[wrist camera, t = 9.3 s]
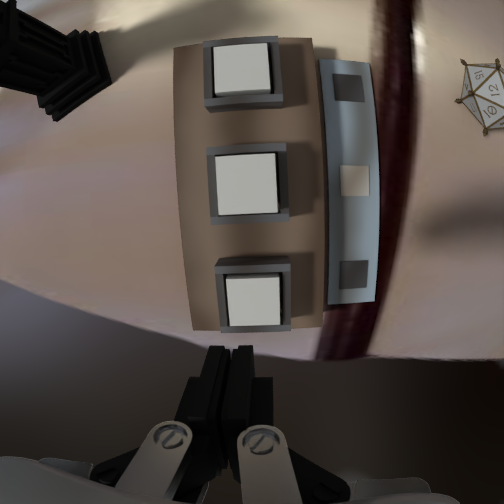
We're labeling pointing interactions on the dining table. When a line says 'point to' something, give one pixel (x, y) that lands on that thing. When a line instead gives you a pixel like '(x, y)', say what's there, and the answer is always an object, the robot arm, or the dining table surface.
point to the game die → (484, 93)
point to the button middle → (246, 184)
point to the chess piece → (49, 62)
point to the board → (278, 182)
